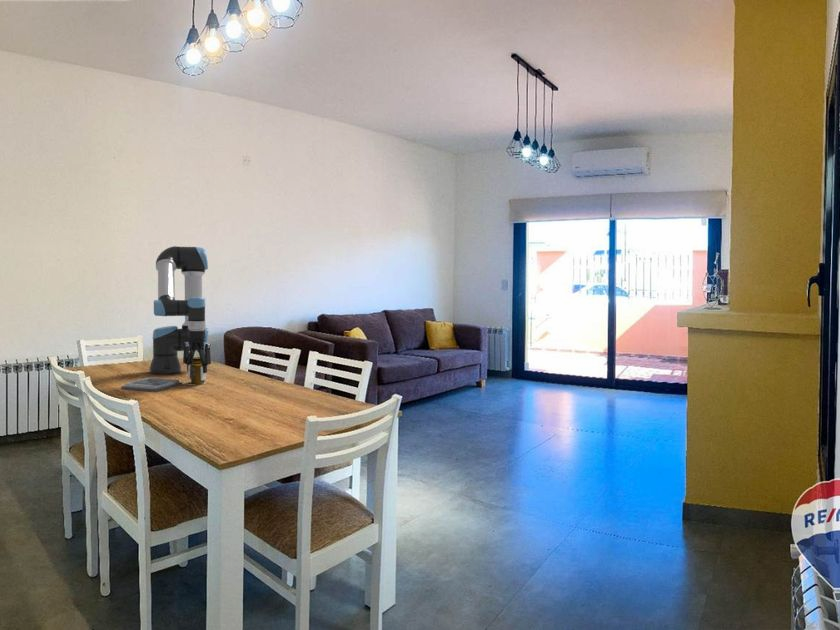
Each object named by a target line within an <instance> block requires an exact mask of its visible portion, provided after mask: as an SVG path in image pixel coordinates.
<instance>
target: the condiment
mask: <svg viewBox="0 0 840 630" xmlns="http://www.w3.org/2000/svg"><path fill="white" fill-rule="evenodd" d="M201 365H202V363H201V359H200V356H197V357H195V356H194V358H192V364H191V379H190V381H189V382H187V381H186V382H184V384H186V385H188V386H195V385H206V384H208V382H206V379H205V380H201Z"/></svg>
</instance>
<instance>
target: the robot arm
mask: <svg viewBox="0 0 840 630" xmlns="http://www.w3.org/2000/svg"><path fill="white" fill-rule="evenodd" d="M208 268H209V265H208V257H207V251H206V249H205V248H204V247H200V246H198V247H197V246H177V245H175V246H170V247H167V248H165V249H164V250H162V251H161V252H160V254H159V255H157V258H156V261H155V269H156V271H157V299H155V300H153V315H154V316H155V317H184V322H183V323H182V324H181V328H178V326H177V325H169V326H162V327H157V328H155V329H154V330H153V331H152V359H151V363H150V367H149V373H150V374H153V375H169V374H176V373H181V372H182V365H181V363H180V359H179V357H178V353H179V352H183V358H182V359H183V361H182V363H183V364H184V365H186V371H187V373H188V380H191V364H192V358H195V353H196V352H197V353H198V356H199V357H200V359H201V363H202V365H201V380H205V381H206V379H207V376H206V375H207V373H208V366H209V365H211V363H212V359H211V345H212V344H211V343H208V339H209V331H210V330H209V328H208V327H206V299H205V297H203V275H205V273H206V271H207V270H209V269H208ZM176 270H181V272H180V273H181V274H182V275H183V277H184V299H176V290H175V289H176V288H175V285H176V283H175V272H176Z"/></svg>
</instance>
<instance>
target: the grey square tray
mask: <svg viewBox="0 0 840 630" xmlns="http://www.w3.org/2000/svg"><path fill="white" fill-rule="evenodd" d="M183 383H184V382H181V381H180V380H179V379H171V378H159V377H146V378H141V379H139V380H134V381H130V382H126V383H124V385H121V387H120V388H121V389H124V390H131V391H132V390H133V391H140V392H141V391H142V392H151V391H153V392H154V393H155V392H160V391H163V390H167V389H171V388H174V387H178V386H183Z"/></svg>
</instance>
